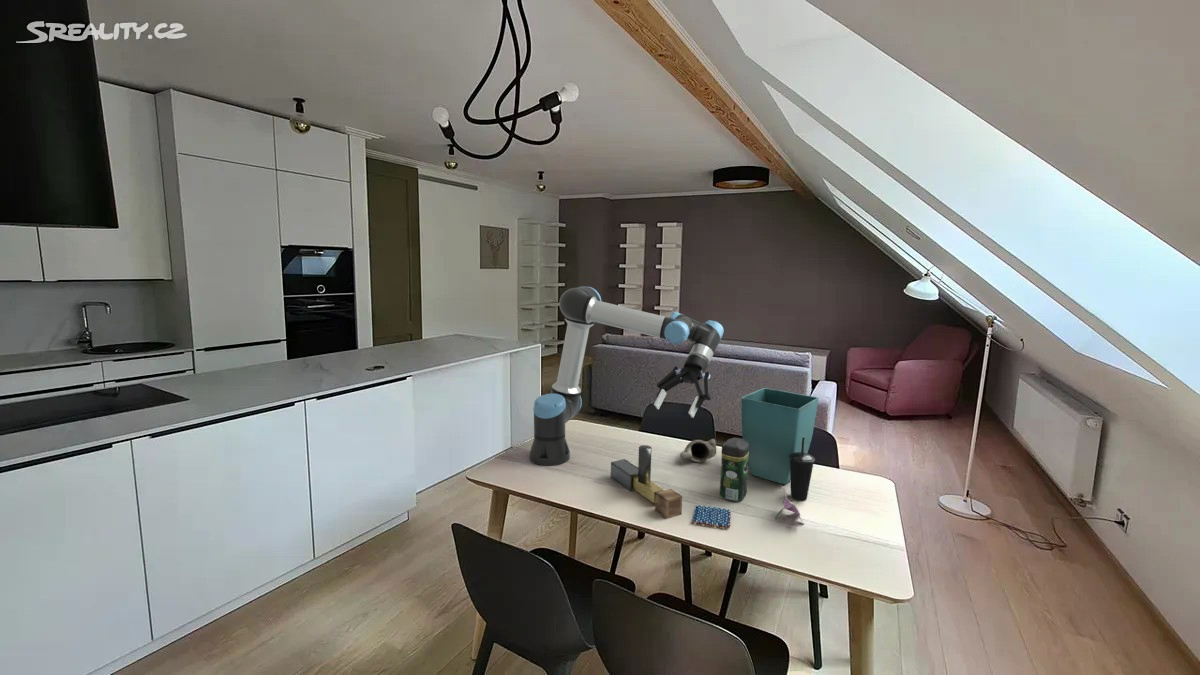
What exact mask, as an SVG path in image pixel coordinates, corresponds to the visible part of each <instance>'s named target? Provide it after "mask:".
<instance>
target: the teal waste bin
mask: <svg viewBox="0 0 1200 675" xmlns="http://www.w3.org/2000/svg"><path fill="white" fill-rule="evenodd" d="M740 402H741V404H740V406H741V436H742V438H741V439H744V440H746V441H747V442H748V444H749V456H748V470H749V472H750V474H751V475H752V476H755V477H758V478H761V479H763V480H764V479H765V480H768V481H770V482H775V483H778V484H781V485H787V484H788V483H789V482H790V458H789V455H790V454H791V453H795V452H801V449H802V438H803V437H804V438H805V440H804V453H807V454H809V453H808V452H809V449H810V446H811V443H812V439H813V434H814V428H815V422H816V416H817V412H818V411H817V410H818V403H819V397H817V396H811V395H806V394H802V393H801V394H800V393H797V392H795V393H794V392H792V391H791V392H789V391H784V390H780V389H773V388H767V387H763V388H760V389H758V390H756V391H755V390H754V391H753V392H751V393H748V394H746V395H743V396H742V397H741V399H740Z"/></svg>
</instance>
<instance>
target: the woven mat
mask: <svg viewBox="0 0 1200 675" xmlns="http://www.w3.org/2000/svg"><path fill="white" fill-rule="evenodd" d="M692 516H693V517H692V522H691V524H693V525H694V526H697V525H698V526H700V527H705V526H706V527H708V528H709V529H712V528H714V529H722V530H726V531H728V530H729V529H730V527H731V518H732V517H731V510H730V509H727V508H720V507H716V506H715V507H712V506H706V505H702V504H701V505H700V504H699V505H695V508H694V513H693V515H692Z"/></svg>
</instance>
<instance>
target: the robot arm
mask: <svg viewBox="0 0 1200 675" xmlns="http://www.w3.org/2000/svg"><path fill="white" fill-rule="evenodd" d="M558 304H559V305H558V306H559V309H560V312H561V314H562V315H563V316H564V321H565V322H566V324H567V326H566V330H565V331H566V332H565V337H564V341H563V348H562V352H561V356H560V357H561V358H560V363H559V369H558V374H557V379H556V382H554V383H552V385H551V389H550V393H546V394H541V395H539V396H538V397H536V399H535V400H534V402H533V441H532V443H531V444H532V445H531V447H530V450H529V460H530V462H532V463H533V462H534V463H533V464H535V463H536V465H539V466H558V465H562V464H564V463H566V462H568V461H569V460H570V458H571V453H570V448H569V445H568V442H567V439H566V423H567V422H569V421H570V420H571V419H573V418H574V417H576V416H577V415H578V413H579V412H580V410H581V408H582V405H583V403H582V401H583V400H582V397H581V393H582V389H581V387H580V386H579V384H580V378H581V373H582V368H583V363H584V358H585V353H586V348H587V347H586V346H587V343H588V338H589V332H590V329H591V327H593V326H594V325H595V323H597V324H601V325H606V326H610V327H614V328H619V329H623V330H626V331H631V332H634V333H638V334H642V335H646V336H651V337H655V338H659V339H662V340H666V341H667V342H669V344H672V345H679V344H682V343H683V342H685V341H690V342H691V343H693V346H692V348H691V350H690V352H689V354H688V356H687V357H686V360H685V361H684V364H683V367H682V368H679V367H678V366H674V367H673V369H672V370H671V371H670V372H669V373H668V374H667V375H665V376H664V377H663V378H662V379H661V380H660V381H659V382H658V383H657V384H656V387H657V389H658V390H659V391H658V392H657V394H656V399H655V402H654V403H653V406H654V407H655V408H656V410H660V408H661V405H662V404H663V402H664V400H665V398H666V396H667V394H668V393H667V391H669V390H671V389H672V388H673V389H674V387H676V386H678V385H680V384H683V383H685V384H690V385H693V384H694V386H695V388H696V391H697V394H698V396H697V395H696V396H695V398H694V400H693V402H692V404H691V406H690V408H689V410H688V414H689V416H690V418H693V419H694V418H695V415H696V413H697V411H698V409H701V407H702V405H703V403H704V401H711V400H712V397H711V380H712V376H711V374H710V372H709V371H706V370H707V368H708V367H709V364H710V362H711V360H712V358H713V356H714V354H715V352H716V350H717V348H718V346H719V344H720V342H721V340H722V337H723V336H724V332H725V331H724V330H725V329H724V327H723V325H722V324H721V323H719V321H715V320H707V321H706V322H704V323H702V322H700V321H697V320H695V319H693V318H691V317H689V316H686V315H685V314H683V313H680V312H677V311H673V312H672V313H671V315H670V316H669V317H668V316H664V315H659V314H656V313H650V312H647V311H643V310H639V309H634V308H630V307H626V306H623V305H622V306H621V305H618V304H613V303H611V302H610V303H609V302H605V301H602V298H601V295H600V294H599V292H598V291H597V290H596V289H595V288H593V287H591V286H584V285H581V286H578V287H572V288H568V289H567V290H565V291H564V292H563V293H562V294H561V296H560V298H559V302H558ZM702 379H703V386H704V389H703V390H704V392H703V390H702V387H701V384H700V380H702Z"/></svg>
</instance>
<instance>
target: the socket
mask: <svg viewBox="0 0 1200 675" xmlns="http://www.w3.org/2000/svg"><path fill="white" fill-rule="evenodd" d="M682 509H683V495H681V494H680V493H678V491H675V490H674V489H672V488H667V489H664V490H663V491H660V492H656V500H655V503H654V511H655V512H657V513H658V514H660V515H661V516H662V518H664V519H666V520H667V519H671V518H674V517H677V516H680V515H681V516H682V511H683V510H682Z"/></svg>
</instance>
